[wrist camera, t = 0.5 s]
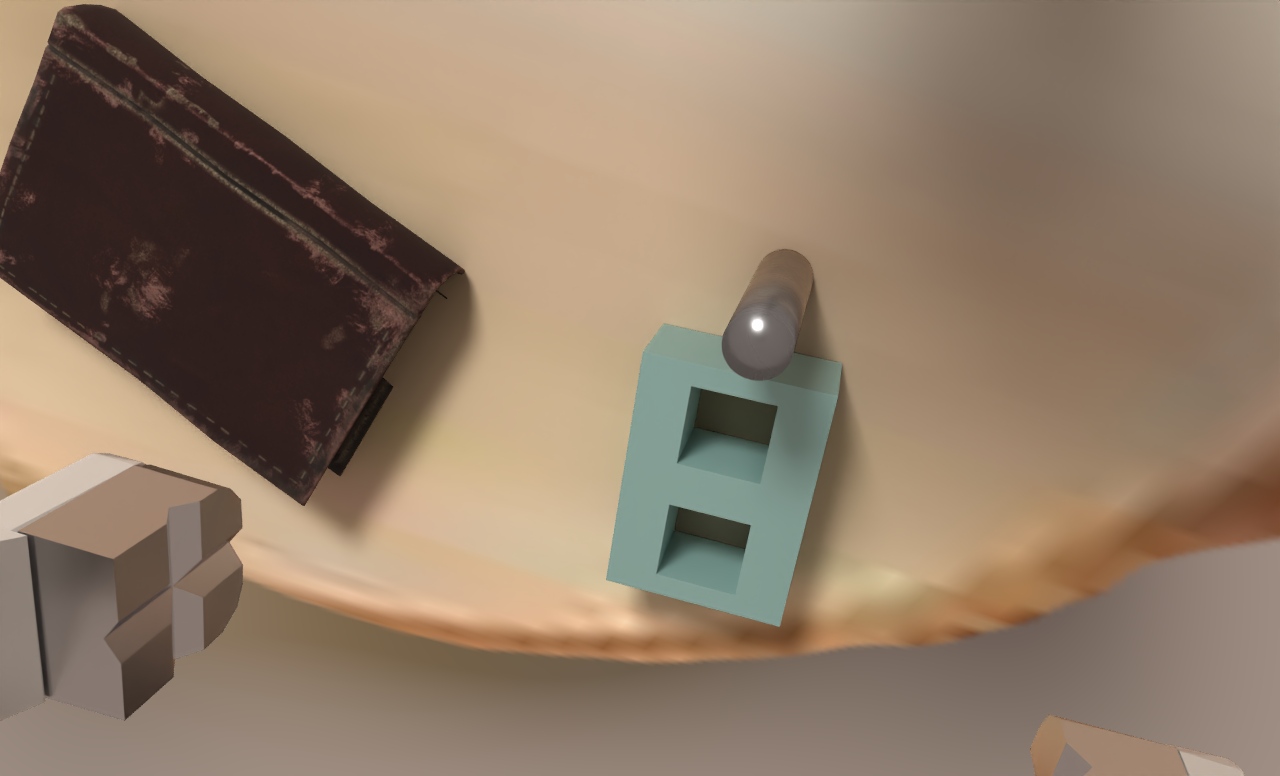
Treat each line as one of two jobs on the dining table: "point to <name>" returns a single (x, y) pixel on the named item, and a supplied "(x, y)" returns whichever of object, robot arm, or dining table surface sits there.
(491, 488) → the dining table surface
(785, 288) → the peg
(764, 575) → the hole block
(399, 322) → the diary
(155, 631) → the robot arm
